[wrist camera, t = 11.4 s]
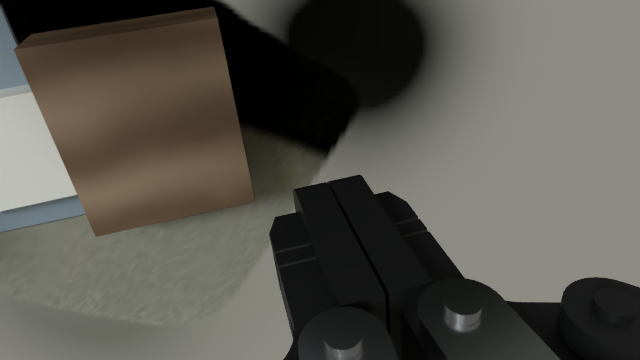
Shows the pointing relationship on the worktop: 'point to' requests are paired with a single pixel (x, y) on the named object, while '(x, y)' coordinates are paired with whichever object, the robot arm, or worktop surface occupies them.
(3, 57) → the mat
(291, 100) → the worktop surface
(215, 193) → the stand
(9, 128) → the coaster
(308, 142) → the worktop surface
